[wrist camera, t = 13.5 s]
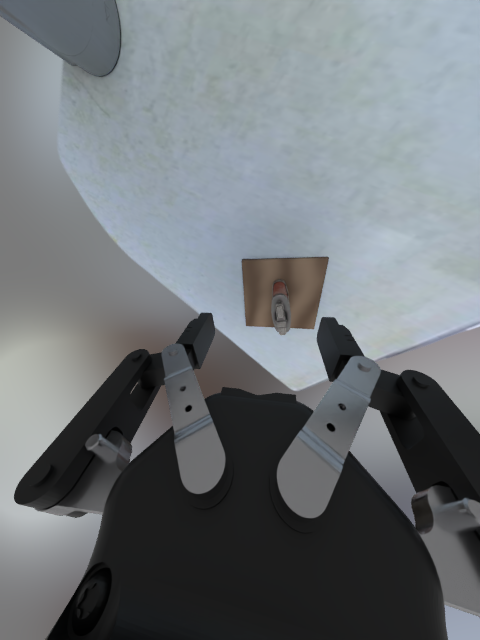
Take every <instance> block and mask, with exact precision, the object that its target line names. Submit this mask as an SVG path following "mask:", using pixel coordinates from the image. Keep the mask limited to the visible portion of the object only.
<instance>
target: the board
mask: <svg viewBox="0 0 480 640" xmlns="http://www.w3.org/2000/svg"><path fill="white" fill-rule="evenodd" d="M328 259H329V258H328V257H307V258H273V259H242V270H243V286H244V301H245V317H246V326H259V327H275V326H274V324H273V320H272V313H271V304H272V287H273V282H274V281H275V280H278V279H282V280H284V281H285V283H286V286H287V289H288V295H289V303H290V311H291V325H290V328H302V329H314V326H315V321H316V317H317V312H318V307H319V302H320V297H321V293H322V288H323V283H324V278H325V274H326V269H327V264H328Z"/></svg>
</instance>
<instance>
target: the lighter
mask: <svg viewBox="0 0 480 640" xmlns="http://www.w3.org/2000/svg"><path fill="white" fill-rule="evenodd" d="M271 313H272V320H273V324H274V326H275V329H276V331H277V332H279V334H280V335H285V334H286V332H288V331H289V330H290V325H291V311H290V303H289V295H288V289H287V286H286V283H285V281H284V280H282V279H278V280H275V281H274V282H273V287H272V304H271Z"/></svg>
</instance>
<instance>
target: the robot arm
mask: <svg viewBox="0 0 480 640" xmlns="http://www.w3.org/2000/svg"><path fill="white" fill-rule="evenodd" d="M0 16H1V17H2V18H4V19H5V20H7V21H8V22H9V23H11V24H12V25H14V26H15V27H17V28H18V29H20V30H21V31H23V32H24V33H26V34H27V35H28V36H30V37H31V38H33V39H34V40H36V41H37V42H39V43H40V44H42V45H43V46H44V47H46V48H47V49H49V50H50V51H52V52H53V53H55V54H56V55H58V56H59V57H60V58H62V59H63V60H65V61H66V62H68V63H69V64H71V65H78V66H79V67H81V68H82V69H84V70H85V71H87V72H88V73H90V74H92V75H95V76H103V75H107V74H108V73H109V72H110V71H111V70H112V69H113V67H114V66H115V64H116V61H117V58H118V55H119V48H120V26H119V17H118V12H117V8H116V3H115V0H0ZM214 335H215V327H214V321H213V316H212V313H201V314H200V316H199V317H198V319H194V320H193V321H191V322H190V323H189V324H188V326H187V328H186V329H185V330H184V332H183V333H182V335H181V336H180V338H179V339H178V341H177V342H176V344H172V345H169V346H167V347H166V348H165V349H164V350H163V351H162V352H161V353H157V354H151V355H150V354H149V352H148V351H147V350H145V349H139V350H136V351H134V352H131V353H130V354H129V355H127V356H126V358H125V359H124V360H123V361H122V362H121V364H120V365H119V366H118V367H117V368H116V369H115V371H114V372H113V373H112V374H111V375H110V376H109V377H108V378H107V380H106V381H105V382H104V383H103V384H102V386H101V387H100V388H99V389H98V390H97V391H96V393H95V394H94V395H93V396H92V397H91V398H90V399H89V401H88V402H87V403H86V404H85V405H84V407H83V408H82V409H81V410H80V411H79V412H78V413H77V415H76V416H75V417H74V418H73V419H72V420H71V422H70V423H69V424H68V425H67V426H66V427H65V429H64V430H63V431H62V432H61V433H60V434H59V436H58V437H57V438H56V439H55V440H54V441H53V443H52V444H51V445H50V446H49V447H48V448H47V450H46V451H45V452H44V453H43V454H42V456H41V457H40V458H39V459H38V460H37V461H36V463H34V465H33V466H32V467H31V468H30V469H29V471H28V472H27V473H26V474H25V475H24V477H23V478H22V479H21V481H20V482H19V484H18V486H17V488H16V490H15V494H14V500H15V502H16V503H17V504H20V505H24V506H28V507H33V508H35V509H36V510H38V511H41V512H46V513H50V514H54V515H59V516H63V515H66V516H70V517H75V518H77V517H81V516H83V515H85V514H87V513H95V514H102V521H101V526H100V530H99V534H98V538H97V541H96V545H95V548H94V551H93V554H92V557H91V559H90V562H89V565H88V568H87V570H86V572H85V574H84V577H83V578H82V580H81V582H80V584H79V586H78V588H77V590H76V591H75V593H74V595H73V596H72V598H71V600H70V601H69V603H68V605H67V606H66V608H65V610H64V611H63V613H62V614H61V616H60V617H59V619H58V621H57V622H56V624H55V625H54V627H53V628H52V630H51V631H50V633H49V635H48V636H47V638H46V639H45V640H448V637H447V631H446V622H445V608H444V605H447V606H450V607H453V608H456V609H459V610H462V611H464V612H467V613H470V614H473V615H476V616H479V617H480V434H479V433H478V431H477V430H476V429H475V428H474V427H473V425H472V424H471V423H470V422H469V421H468V419H467V418H466V417H465V416H464V414H463V413H462V412H461V411H460V410H459V408H458V407H457V406H456V405H455V404H454V403H453V401H452V400H451V399H450V398H449V396H448V395H447V394H446V393H445V392H444V390H442V388H441V387H440V386H439V384H438V383H437V382H436V381H435V380H433V379H432V378H431V377H429V376H427V375H425V374H423V373H420V372H418V371H414V370H405V371H403V372H402V373H401V374H400V375H397V374H394V373H390V372H387V371H384V370H381V369H380V367H379V366H378V364H377V363H375V362H374V361H373V360H371V359H369V358H367V357H365V356H364V355H363V353H362V351H361V349H360V348H359V346H358V344H357V343H356V341H355V339H354V338H353V337H352V334H351V333H350V331H349V330H348V329H347V328H346V327H345V326H343V325H339V324H338V322H337V320H336V319H335V318H334V317H322V319H321V322H320V326H319V330H318V333H317V343H318V346H319V350H320V353H321V356H322V359H323V362H324V365H325V368H326V372H327V375H328V378H329V381H330V382H333V383H332V385H331V386H330V388H329V389H328V391H327V392H326V394H325V395H324V397H323V398H322V400H321V401H320V403H319V404H318V406H317V407H316V409H315V410H314V411H313V410H311V409H310V408H309V407H307V406H306V405H304V404H302V403H300V402H298V401H296V395H292V394H282V393H272V394H265V395H255V394H252V393H249V392H246V391H244V390H241V389H236V388H226V387H223V388H222V391H221V393H217V394H214V395H211V396H209V397H207V398H205V399H204V398H203V395H202V392H201V390H200V387H199V384H198V382H197V379H196V377H195V374H194V369H200V368H201V366H202V363H203V361H204V359H205V357H206V354H207V352H208V350H209V347H210V345H211V343H212V340H213V338H214ZM137 382H138V384H137V385H136V383H137ZM135 385H136V387H135V388H134V390H133V391H132V389H133V387H134V386H135ZM161 385H165V387H166V392H167V397H168V402H169V407H170V413H171V418H172V423H173V426H172V427H171V428H170V429H168V430H167V431H166V432H165V433H164V434H163V435H161V436H160V437H159V438H158V439H157V440H156V441H154V442H153V443H152V444H151V445H150V446H149V447H147V448H146V449H145V450H144V451H143V452H141V453H140V454H139V455H138V456H137V457H136V458H135V459H133V460H132V461H131V462H130V456H131V453H132V445H131V441H132V439H133V437H134V435H135V434H136V432H137V430H138V428H139V426H140V424H141V423H142V421H143V419H144V417H145V415H146V413H147V411H148V409H149V408H150V406H151V404H152V402H153V400H154V398H155V396H156V394H157V393H158V391H159V389H160V387H161ZM131 391H132V393H131ZM130 393H131V394H130ZM368 406H369V407H372V408H374V409H377V410H380V413H381V415H382V417H383V419H384V422H385V424H386V426H387V428H388V431H389V433H390V435H391V437H392V440H393V442H394V444H395V446H396V448H397V451H398V453H399V455H400V457H401V460H402V462H403V464H404V466H405V469H406V471H407V473H408V475H409V478H410V480H411V482H412V484H413V487H414V489H415V491H416V494H415V495H413V497H412V500H411V505H412V511H413V514H414V519H415V527H414V525H413V524H412V522H411V521H410V520H409V519H408V518H407V516H406V515H405V514H404V512H403V511H402V510H401V509H400V508H399V507H398V506H397V504H396V503H395V502H394V501H393V500H392V499H391V498H390V496H388V495H387V493H386V492H385V491H384V490H383V489H382V487H381V486H380V485H379V484H378V483H377V482H376V481H375V479H374V478H373V477H372V476H371V475H370V474H369V473H368V472H367V470H366V469H365V468H364V467H363V466H362V465H361V464H360V462H359V461H358V460H357V459H356V458H355V457H354V456H353V454H352V453H351V452H350V451H349V449H350V447H351V445H352V442H353V440H354V438H355V435H356V433H357V431H358V428H359V426H360V424H361V422H362V419H363V417H364V414H365V412H366V410H367V408H368Z"/></svg>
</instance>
